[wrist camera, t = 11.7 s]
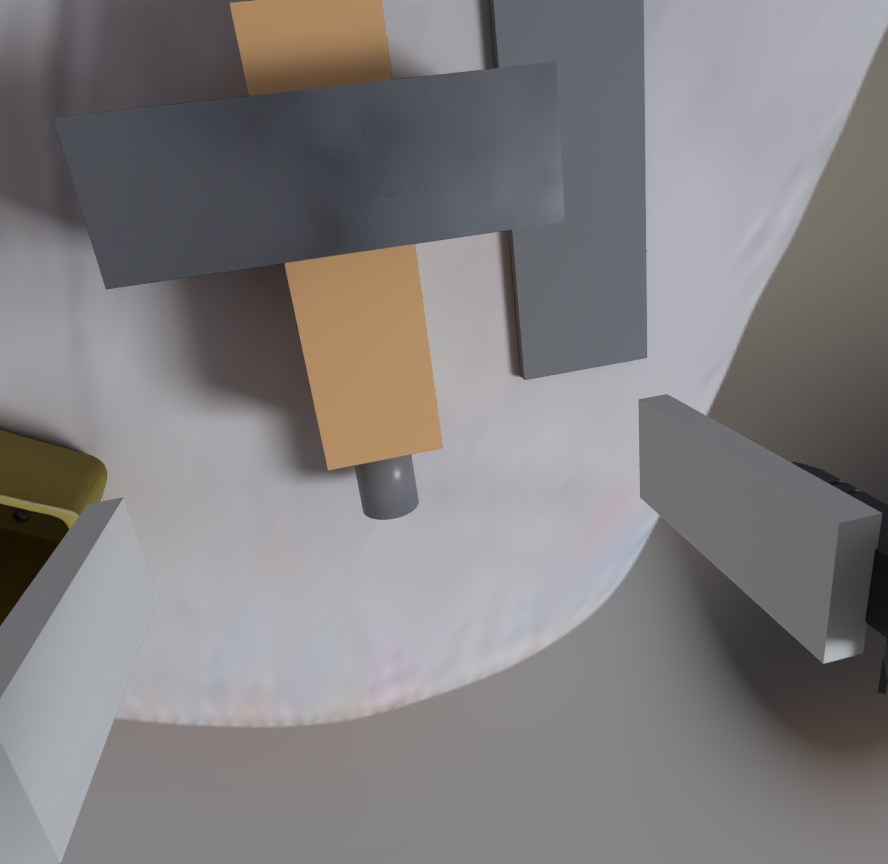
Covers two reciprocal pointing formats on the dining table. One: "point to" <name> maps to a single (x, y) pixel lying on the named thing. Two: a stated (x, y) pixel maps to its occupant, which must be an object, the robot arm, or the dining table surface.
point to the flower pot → (39, 506)
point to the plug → (351, 268)
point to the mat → (584, 186)
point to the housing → (315, 171)
